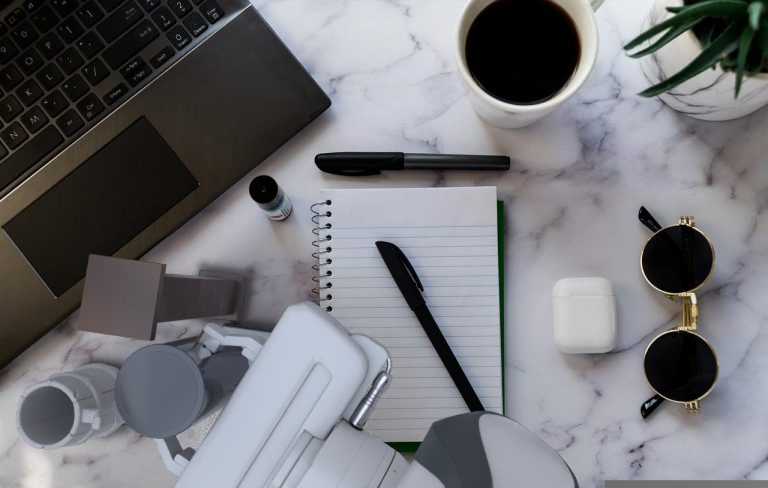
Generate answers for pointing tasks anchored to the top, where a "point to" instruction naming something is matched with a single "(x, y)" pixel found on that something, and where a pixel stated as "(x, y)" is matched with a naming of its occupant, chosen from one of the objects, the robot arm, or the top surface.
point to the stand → (153, 297)
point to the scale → (247, 331)
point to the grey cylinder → (176, 385)
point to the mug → (69, 408)
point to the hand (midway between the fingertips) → (175, 374)
